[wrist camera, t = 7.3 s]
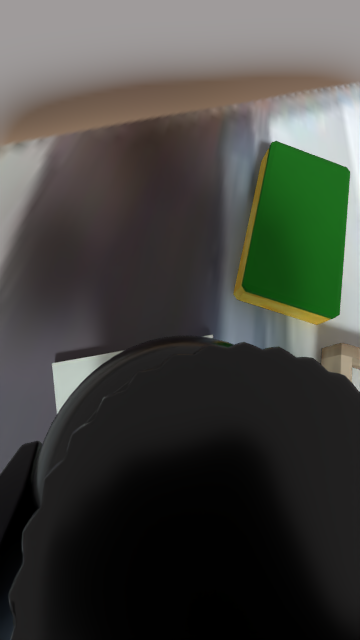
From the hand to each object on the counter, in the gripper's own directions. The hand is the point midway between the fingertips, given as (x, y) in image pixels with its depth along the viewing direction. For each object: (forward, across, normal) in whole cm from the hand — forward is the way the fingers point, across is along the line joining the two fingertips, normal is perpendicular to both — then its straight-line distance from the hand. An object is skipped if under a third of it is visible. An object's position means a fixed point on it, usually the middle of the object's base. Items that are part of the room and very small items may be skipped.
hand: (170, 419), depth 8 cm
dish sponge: (+15, -14, -1) cm, 20 cm away
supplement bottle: (+4, 0, +6) cm, 7 cm away
